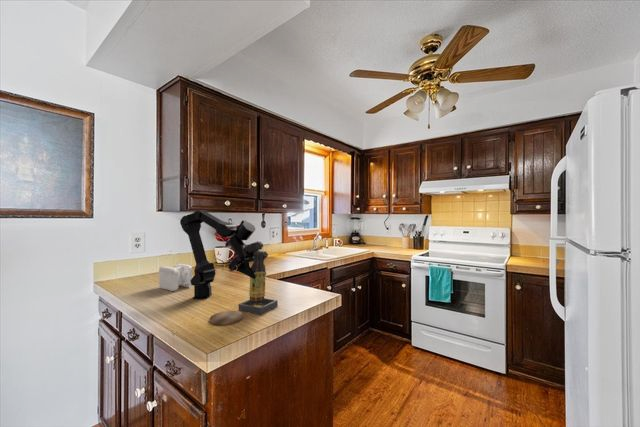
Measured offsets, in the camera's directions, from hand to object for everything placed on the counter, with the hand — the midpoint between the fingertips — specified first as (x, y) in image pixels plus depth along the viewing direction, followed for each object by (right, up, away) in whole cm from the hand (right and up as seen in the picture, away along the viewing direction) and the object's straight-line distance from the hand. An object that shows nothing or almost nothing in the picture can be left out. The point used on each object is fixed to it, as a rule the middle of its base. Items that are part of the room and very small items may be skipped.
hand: (260, 276), depth 112 cm
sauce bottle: (-1, -10, +1) cm, 10 cm away
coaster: (-10, -13, -10) cm, 20 cm away
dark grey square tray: (-1, -13, +1) cm, 13 cm away
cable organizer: (-51, -13, +31) cm, 61 cm away
